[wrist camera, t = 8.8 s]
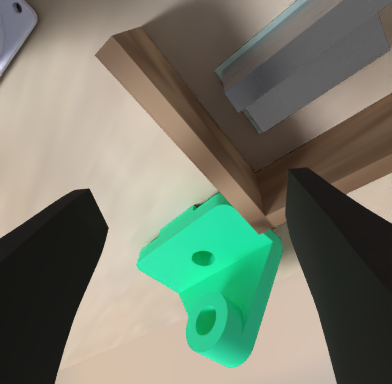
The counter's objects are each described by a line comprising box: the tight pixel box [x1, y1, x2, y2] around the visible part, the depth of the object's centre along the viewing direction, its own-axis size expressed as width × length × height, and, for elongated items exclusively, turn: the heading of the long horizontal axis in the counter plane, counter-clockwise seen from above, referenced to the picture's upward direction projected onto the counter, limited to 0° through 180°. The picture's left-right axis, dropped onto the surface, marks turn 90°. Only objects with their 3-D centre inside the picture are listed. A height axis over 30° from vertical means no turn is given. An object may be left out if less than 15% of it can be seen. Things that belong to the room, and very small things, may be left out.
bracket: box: [222, 0, 392, 133], centre depth 13 cm, size 8×5×5 cm, turn 129°
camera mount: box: [137, 193, 283, 368], centre depth 22 cm, size 12×8×10 cm, turn 136°
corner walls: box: [95, 27, 392, 235], centre depth 14 cm, size 14×14×5 cm
